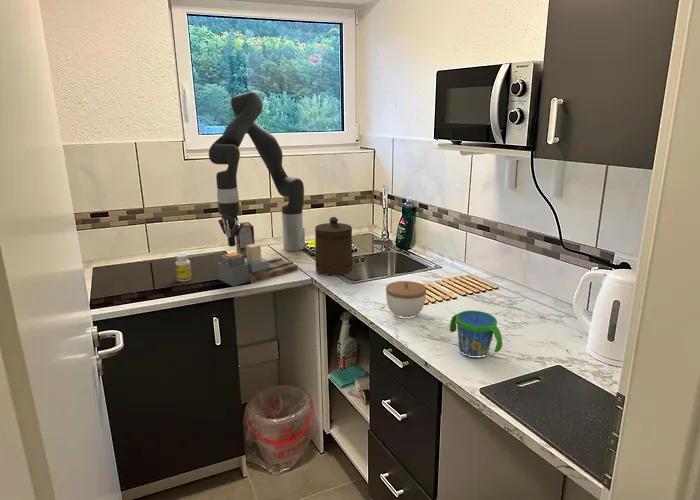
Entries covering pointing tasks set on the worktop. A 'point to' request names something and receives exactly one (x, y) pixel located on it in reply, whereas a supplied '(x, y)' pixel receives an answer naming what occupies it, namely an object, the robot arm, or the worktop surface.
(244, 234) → the coffee box
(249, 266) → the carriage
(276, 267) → the rail bed
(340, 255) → the wooden container
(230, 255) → the button
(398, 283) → the lidded bowl
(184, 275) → the supplement bottle
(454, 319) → the snack cup
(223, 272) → the cabinet
